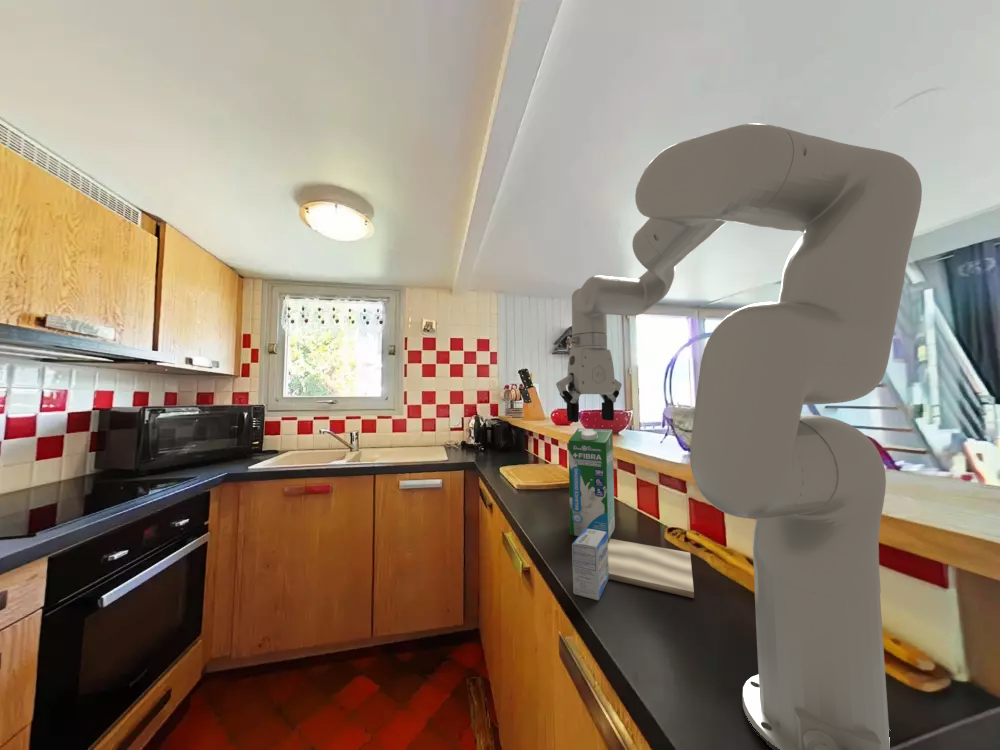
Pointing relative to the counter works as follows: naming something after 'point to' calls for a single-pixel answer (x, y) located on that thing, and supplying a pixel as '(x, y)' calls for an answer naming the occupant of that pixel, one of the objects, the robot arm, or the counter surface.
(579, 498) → the milk carton
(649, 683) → the counter surface
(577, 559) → the medicine box
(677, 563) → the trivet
